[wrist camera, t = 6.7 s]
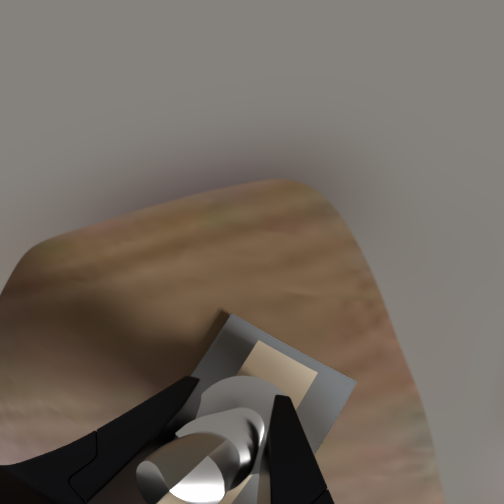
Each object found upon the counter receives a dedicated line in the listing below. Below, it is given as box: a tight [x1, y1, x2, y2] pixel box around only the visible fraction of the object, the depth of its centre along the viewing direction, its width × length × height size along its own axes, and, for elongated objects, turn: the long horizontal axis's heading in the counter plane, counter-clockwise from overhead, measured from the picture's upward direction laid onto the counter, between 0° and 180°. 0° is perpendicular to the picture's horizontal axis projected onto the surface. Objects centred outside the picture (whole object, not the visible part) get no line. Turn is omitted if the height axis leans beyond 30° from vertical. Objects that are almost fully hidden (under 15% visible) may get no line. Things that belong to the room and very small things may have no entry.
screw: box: [136, 376, 286, 504], centre depth 9 cm, size 13×5×5 cm
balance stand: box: [157, 314, 357, 504], centre depth 15 cm, size 21×9×4 cm, turn 149°
